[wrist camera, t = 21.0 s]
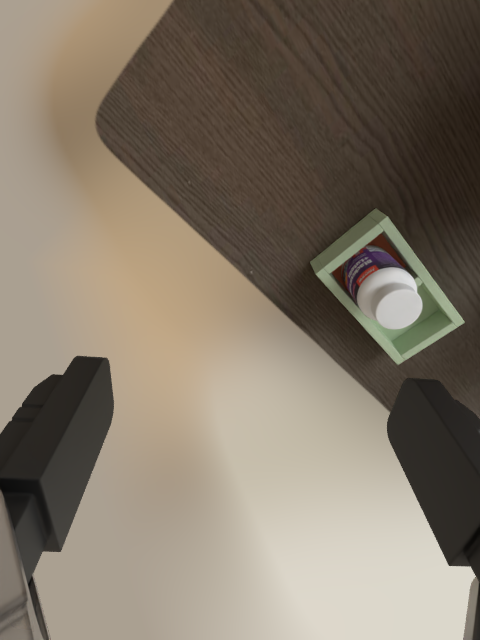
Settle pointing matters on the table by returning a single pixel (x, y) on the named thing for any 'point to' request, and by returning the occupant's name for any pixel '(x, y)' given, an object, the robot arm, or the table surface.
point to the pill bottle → (382, 287)
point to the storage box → (382, 233)
